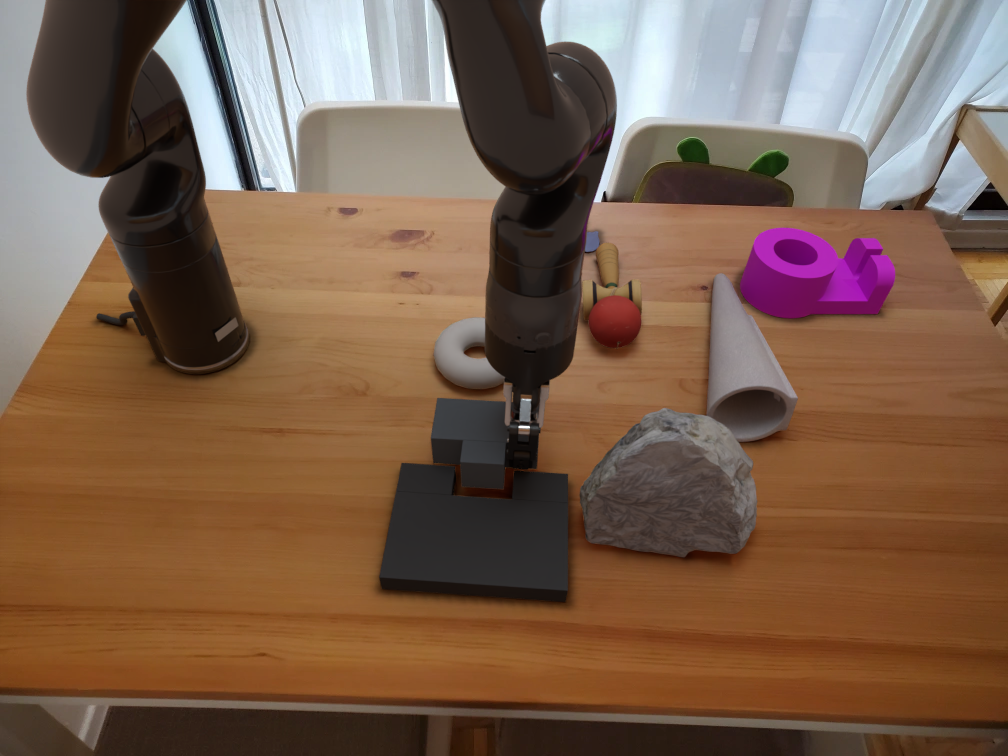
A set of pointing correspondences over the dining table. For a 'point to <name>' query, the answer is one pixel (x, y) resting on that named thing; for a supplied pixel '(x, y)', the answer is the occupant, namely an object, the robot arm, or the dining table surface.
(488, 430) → the grey pad
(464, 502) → the black pad
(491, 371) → the donut
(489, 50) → the robot arm
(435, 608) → the dining table surface
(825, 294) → the tape dispenser
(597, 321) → the kendama
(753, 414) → the grey hollow cone
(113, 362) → the dining table surface
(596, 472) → the decorative rock
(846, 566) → the dining table surface
